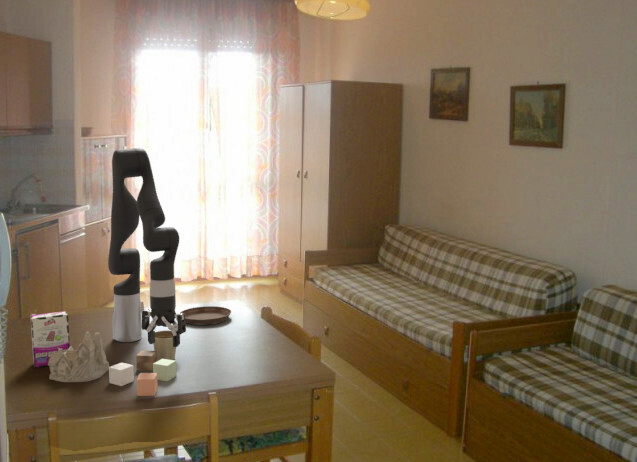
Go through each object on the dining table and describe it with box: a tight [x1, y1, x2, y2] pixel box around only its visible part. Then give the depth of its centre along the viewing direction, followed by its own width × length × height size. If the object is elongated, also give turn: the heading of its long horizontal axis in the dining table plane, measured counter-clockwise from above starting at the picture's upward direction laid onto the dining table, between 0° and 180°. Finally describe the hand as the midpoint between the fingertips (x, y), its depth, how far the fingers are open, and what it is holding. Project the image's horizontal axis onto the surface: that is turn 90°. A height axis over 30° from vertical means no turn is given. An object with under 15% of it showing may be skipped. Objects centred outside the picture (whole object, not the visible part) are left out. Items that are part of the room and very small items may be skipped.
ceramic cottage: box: [48, 331, 111, 383], centre depth 206 cm, size 16×16×15 cm
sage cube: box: [152, 359, 177, 382], centre depth 203 cm, size 5×5×5 cm
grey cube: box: [108, 362, 135, 387], centre depth 199 cm, size 5×5×5 cm
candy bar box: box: [29, 311, 71, 368], centre depth 214 cm, size 11×5×16 cm, turn 117°
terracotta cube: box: [136, 372, 159, 397], centre depth 192 cm, size 5×5×5 cm
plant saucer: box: [179, 305, 232, 326], centre depth 267 cm, size 21×21×3 cm
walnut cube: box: [135, 350, 157, 372], centre depth 211 cm, size 5×5×5 cm
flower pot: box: [152, 329, 177, 361], centre depth 219 cm, size 9×9×9 cm
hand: (164, 345), depth 202 cm, fingers open, 8 cm apart
